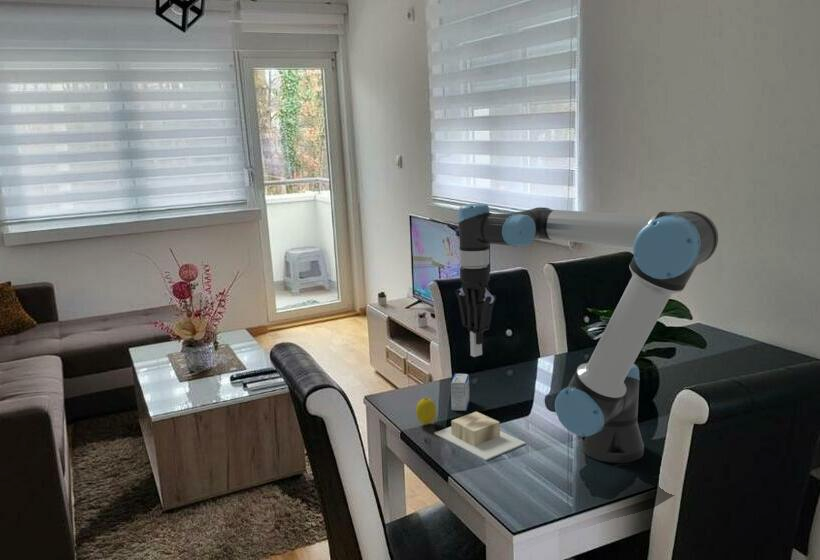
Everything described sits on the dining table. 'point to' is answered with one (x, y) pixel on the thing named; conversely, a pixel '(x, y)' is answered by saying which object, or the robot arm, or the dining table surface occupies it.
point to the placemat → (484, 444)
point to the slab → (475, 428)
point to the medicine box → (460, 392)
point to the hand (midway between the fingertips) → (476, 355)
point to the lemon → (426, 411)
